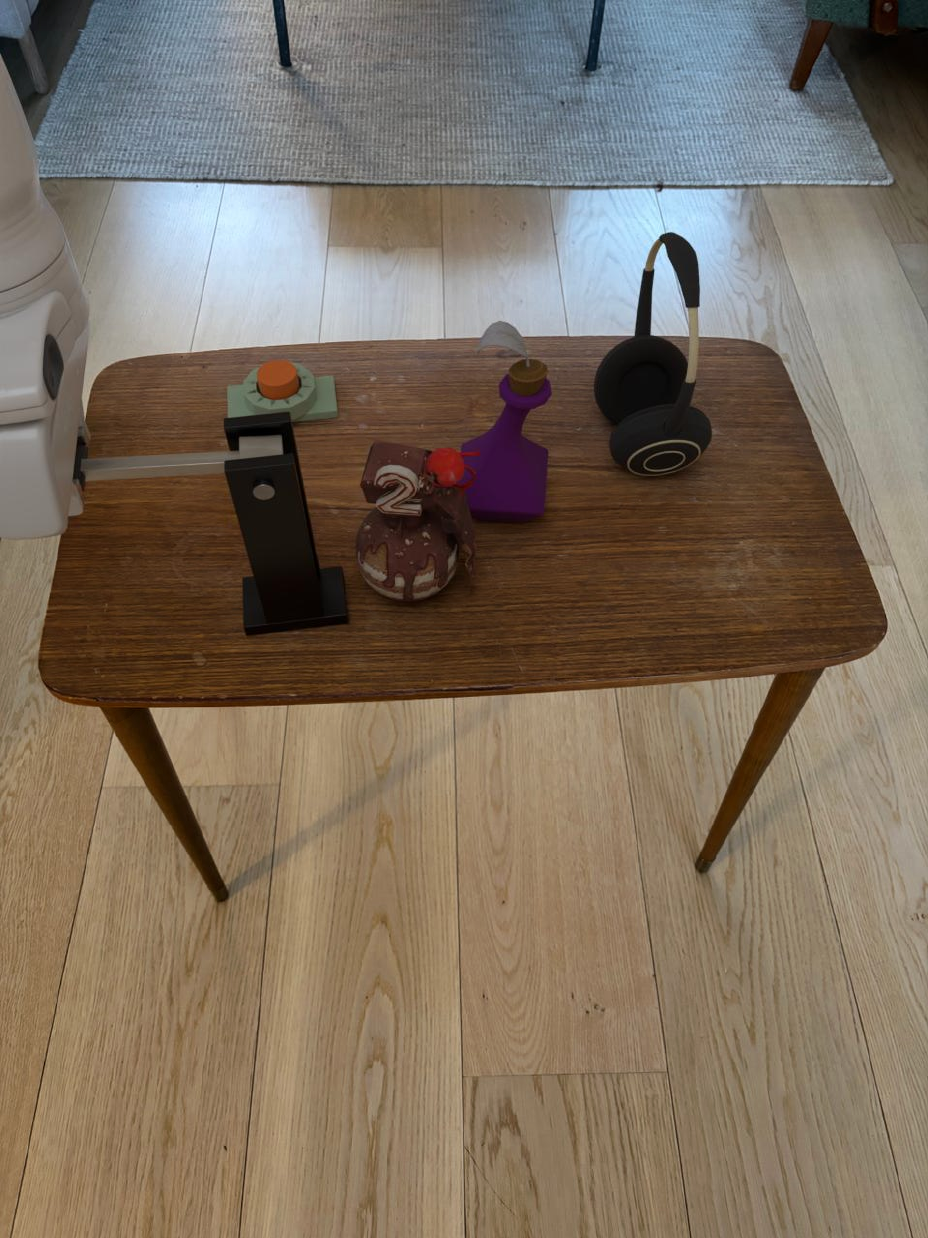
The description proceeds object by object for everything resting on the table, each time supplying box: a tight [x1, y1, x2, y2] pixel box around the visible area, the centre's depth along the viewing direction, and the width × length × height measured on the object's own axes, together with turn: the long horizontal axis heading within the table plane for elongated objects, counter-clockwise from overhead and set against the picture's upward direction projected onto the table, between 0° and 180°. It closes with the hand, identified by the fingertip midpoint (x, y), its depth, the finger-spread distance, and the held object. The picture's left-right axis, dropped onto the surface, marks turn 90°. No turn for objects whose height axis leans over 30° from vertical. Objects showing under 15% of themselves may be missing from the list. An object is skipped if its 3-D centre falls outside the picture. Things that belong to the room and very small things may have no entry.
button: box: [257, 359, 299, 400], centre depth 90 cm, size 4×4×2 cm
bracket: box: [223, 411, 349, 637], centre depth 71 cm, size 8×6×18 cm
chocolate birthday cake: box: [355, 439, 481, 603], centre depth 74 cm, size 9×8×15 cm
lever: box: [73, 435, 284, 493], centre depth 65 cm, size 14×4×2 cm, turn 99°
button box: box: [226, 360, 339, 423], centre depth 91 cm, size 10×6×2 cm, turn 99°
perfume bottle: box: [455, 320, 553, 525], centre depth 78 cm, size 8×8×18 cm
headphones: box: [593, 231, 713, 477], centre depth 81 cm, size 9×15×20 cm, turn 6°
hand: (74, 478), depth 64 cm, fingers closed on lever, 4 cm apart
